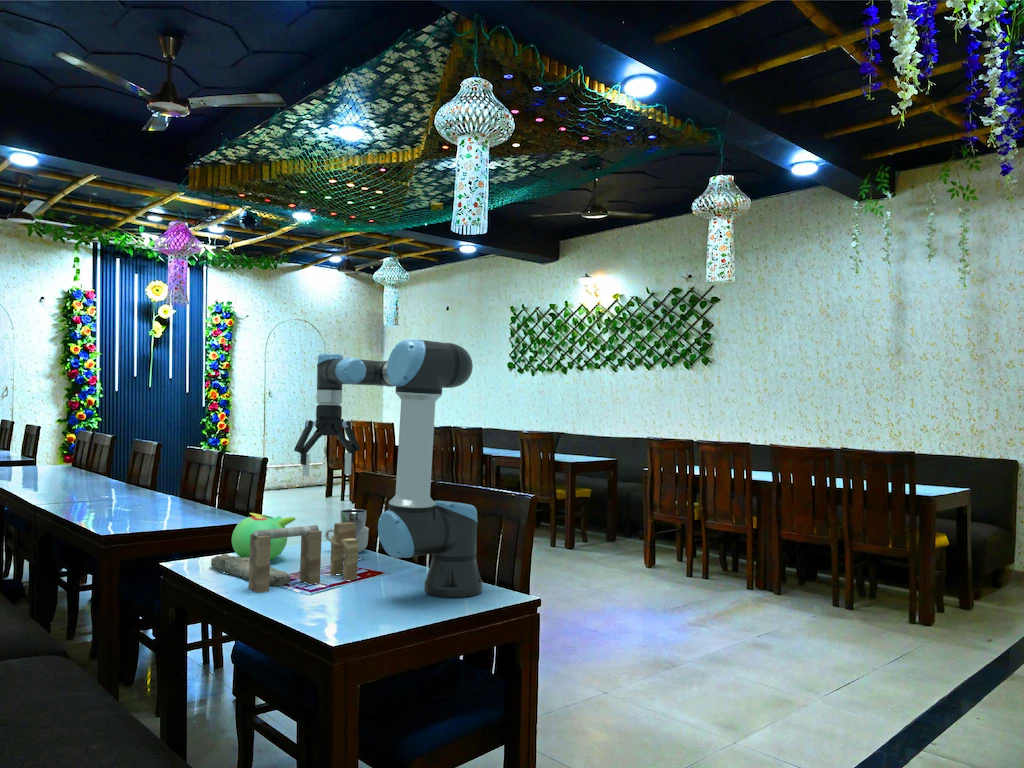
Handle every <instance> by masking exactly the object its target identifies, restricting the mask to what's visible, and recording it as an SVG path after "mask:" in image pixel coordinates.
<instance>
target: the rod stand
mask: <svg viewBox="0 0 1024 768" xmlns="http://www.w3.org/2000/svg"><path fill="white" fill-rule="evenodd" d="M322 532H323V531H322V530H320V529H319V526H318V525H317V524H316V525H315V524H314V525H313V524H312V525H303V526H296V527H295V526H294V527H285V528H281V529H270V530H259V531H254V533H253V534H250V560H249V579H248V590H251V591H253V592H254V591H255V592H254V593H256V592H257V594H261V593H267V591H268V592H270V585H269V577H270V567H271V560H270V549H271V539H274V538H284V537H287V538H293V537H300V538H301V539H300V560H299V563H300V565H299V566H300V567H299V581H300V580H301V581H303V582H306V583H308V584H315V583H320V584H321V567H322V566H321V565H322V564H321V560H322ZM301 581H300V582H301ZM303 582H302V583H303ZM308 584H307V585H308ZM315 585H316V584H315ZM260 592H261V593H260Z"/></svg>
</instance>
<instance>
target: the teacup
mask: <svg viewBox="0 0 1024 768" xmlns="http://www.w3.org/2000/svg"><path fill="white" fill-rule="evenodd" d="M369 531H370V528H369V527H367V526H366V525H365V526H364V529H363V530H362V531H361V533H360V534H359V535H358V536H357V538H356V539H357V540H358V554H360V553H362V552H363V550H365V549H366V548H367V546H368V542H369ZM330 532H332V533H333V534H334V528H328V529H327V530H326V531H325V534H324V535H325V536H324V537H325V539H326V540H327V541H328V542H329V543H331V538H330V537H331V536H329V534H330ZM359 552H360V553H359ZM344 553H345V547H344Z"/></svg>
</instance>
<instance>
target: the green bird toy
mask: <svg viewBox="0 0 1024 768" xmlns="http://www.w3.org/2000/svg"><path fill="white" fill-rule="evenodd" d="M249 515H251V516H248V517H246V518H244V519H242V520H240V521H239V522H238V523H237V524H236V526H235V528H234V529H233V531H232V534H231V545H232V549H233V550H234V553H235V554H236V555H238V557H241V558H243V557H247V558H250V534H253V533H254V531H259V530H270V529H281V528H286V526H287V525H289V524H290V523H292V522H294V521H295V520H296V517H294V516H288V517H283V518H282V516H276V517H273V516H270V515H266V514H259V513H255V512H249ZM287 542H288V537H284V538H274V539H271V549H270V561H271V560H274V559H276V558H277V557H278V556H279V555H280V554H282V552H283V551H284V550H285V548H286V545H287V544H288V543H287Z"/></svg>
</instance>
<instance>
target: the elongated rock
mask: <svg viewBox="0 0 1024 768" xmlns="http://www.w3.org/2000/svg"><path fill="white" fill-rule="evenodd" d="M210 560H211V561H210V562H211V563H210V565H211V567H214V568H215V569H216V570H217V569H218V570H220V571H219V572H221V571H222V572H221V573H223V572H225V573H224V574H226V573H228V574H227V575H232V576H235V577H238V576H240V577H241V578H242V579H245V580H249V560H250V558H247V557H243V558H241V557H240V556H232V555H229V554H226V553H223V554H221V555H216V556H214V557H212V558H211V559H210ZM218 570H217V571H218ZM290 577H291V576H290V574H288V572H286V571H284V570H280V569H278V568H275V567H272V566H270V577H269V586H272V585H273V587H279V586H278V585H283V586H286V585H285V584H287V585H289V584H290V583H291V578H290ZM288 583H289V584H288Z"/></svg>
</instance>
